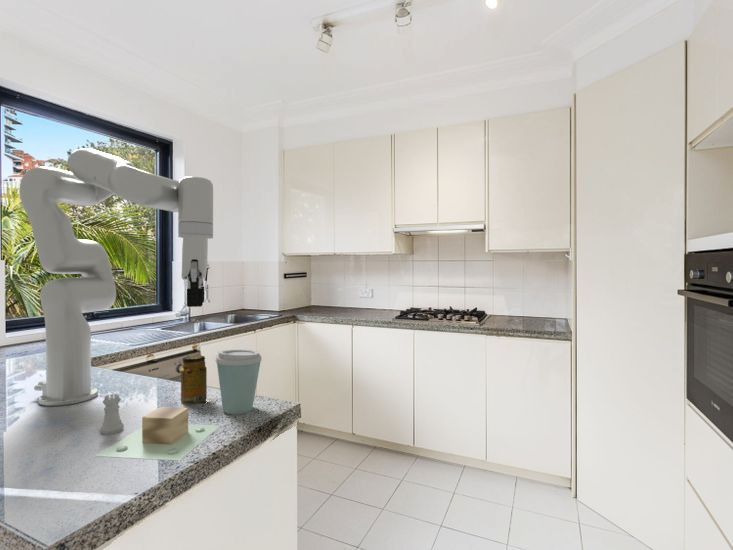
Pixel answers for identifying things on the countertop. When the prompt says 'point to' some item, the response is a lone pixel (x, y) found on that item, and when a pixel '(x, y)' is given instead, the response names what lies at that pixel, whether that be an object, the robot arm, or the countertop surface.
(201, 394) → the condiment
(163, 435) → the oak brick
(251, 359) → the disposable coffee cup
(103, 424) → the rook chess piece
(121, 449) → the build plate
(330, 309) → the countertop surface
